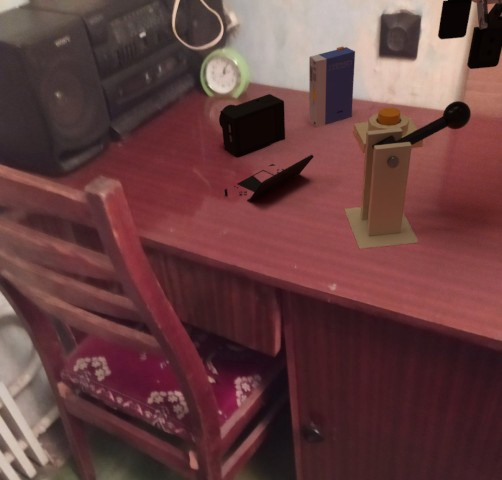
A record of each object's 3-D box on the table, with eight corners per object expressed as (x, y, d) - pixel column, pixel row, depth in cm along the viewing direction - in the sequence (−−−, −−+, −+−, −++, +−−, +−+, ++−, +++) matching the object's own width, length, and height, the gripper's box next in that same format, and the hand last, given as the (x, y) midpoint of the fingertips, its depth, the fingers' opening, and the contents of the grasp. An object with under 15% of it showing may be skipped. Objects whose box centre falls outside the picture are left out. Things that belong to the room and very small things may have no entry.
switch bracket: (398, 209, 85) (409, 117, 76) (418, 249, 78) (433, 153, 69) (343, 215, 85) (348, 124, 76) (358, 255, 78) (365, 160, 69)
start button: (396, 116, 100) (397, 106, 99) (401, 125, 98) (403, 115, 97) (375, 118, 100) (376, 108, 99) (380, 127, 98) (381, 117, 97)
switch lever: (468, 114, 73) (461, 92, 71) (477, 125, 70) (471, 102, 68) (378, 161, 76) (369, 141, 74) (384, 173, 74) (375, 152, 72)
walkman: (343, 112, 110) (346, 44, 102) (351, 117, 109) (355, 49, 100) (307, 122, 108) (307, 54, 100) (315, 128, 106) (316, 59, 98)
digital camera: (267, 129, 107) (266, 90, 103) (285, 139, 104) (284, 100, 99) (220, 146, 104) (216, 108, 99) (237, 157, 100) (233, 118, 95)
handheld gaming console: (261, 156, 96) (286, 120, 87) (292, 187, 97) (320, 155, 88) (218, 196, 91) (240, 163, 82) (251, 229, 92) (277, 199, 83)
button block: (408, 126, 104) (411, 107, 102) (422, 147, 99) (425, 127, 96) (353, 132, 104) (354, 113, 102) (363, 153, 98) (364, 133, 96)
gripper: (589, -138, 48) (532, 76, 60) (504, -155, 60) (471, 25, 72) (498, -130, 48) (459, 83, 59) (432, -149, 60) (411, 30, 72)
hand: (466, 51), depth 66 cm, fingers open, 9 cm apart
